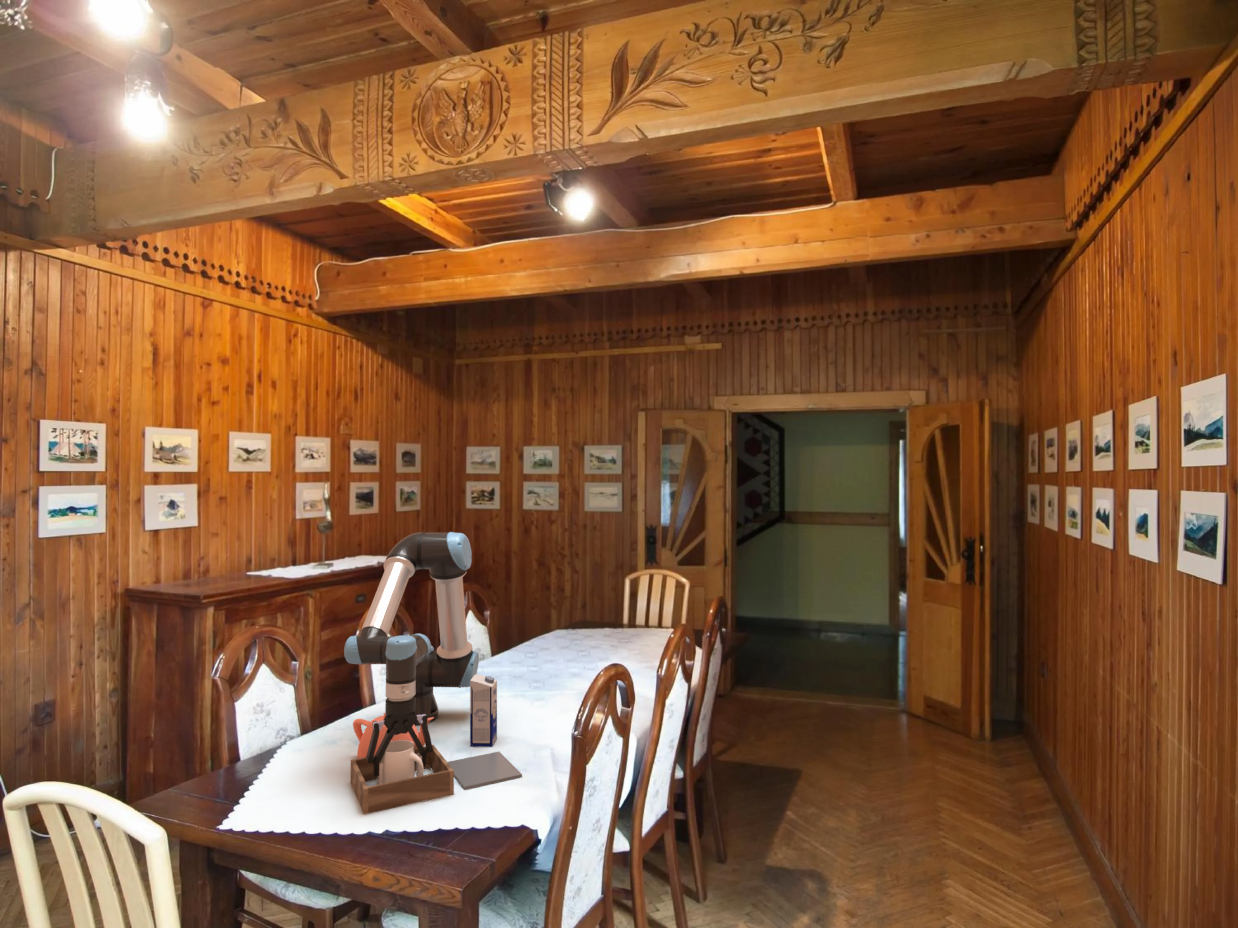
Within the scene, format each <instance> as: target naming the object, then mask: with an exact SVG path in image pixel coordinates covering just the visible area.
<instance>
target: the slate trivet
mask: <svg viewBox="0 0 1238 928" xmlns="http://www.w3.org/2000/svg"><path fill="white" fill-rule="evenodd" d="M447 763H448V764H449V765H450V766H451V768H452V769H453V770H454V780H456V782H457V783H458V785H460V787H461V788H462V789H463V791H465V790H470V789H471V790H472V789H475V788H479V787H484V786H488V785H492V784H493V785H494V784H497V783H498V784H499V783H501V782H503V783H504V782H507V781H511V780H516V779H520V778H523V774H522V773H521V772H520V771H519V770H518V768H516V767H515V766H514V764H512V762H510V761H509V759H507V757H505V756H504V755H503V753H502V752H501V751H494V752H490V753H489V752H488V753H485V754H480V755H475V756H470V757H464V758H461V759H455V760H449V761H447Z"/></svg>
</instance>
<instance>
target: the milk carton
mask: <svg viewBox="0 0 1238 928" xmlns="http://www.w3.org/2000/svg"><path fill="white" fill-rule="evenodd" d="M469 691H470V693H469V695H470V696H469V700H470V701H469V703H470V704H469V715H470V717H469V732H470V733H469V734H470V735H469V747H472V748H473V747H477V748H478V747H481V748H482V747H484V748H488V747H489V748H492V747H493V746H494V745H495V743H496V741H497V739H498V679H495V678H494V677H492V676H489V675H486V676H485V675H482V674H478V673H477V674H475V675H474V676H473V678H472V679H471V680H470V687H469Z"/></svg>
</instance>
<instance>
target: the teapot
mask: <svg viewBox="0 0 1238 928" xmlns="http://www.w3.org/2000/svg"><path fill="white" fill-rule="evenodd" d="M384 718H385V712H384V713H383V715H380V716H378V717H375V718H373V719H372V720H371V721H370V720H367V719H363V718H356V719H354V720H353V723H352V727H353V732H354V734H355V736H356V738H357V740H358V742H359V743H358V747H357V752H356V753H357V759H359V758H364V757H366V756H367V752H368V748H369V744H370V740H371V736H372V732H373V725H372V723H373V721H377V722H378V721H382V720H384ZM433 718H434V717H432V718H428V721H427V726H428V725H429V723H431V722H432V721H431V720H432V719H433ZM430 721H431V722H430ZM419 725H420V726H419V730H418V728H417V725H413V726H412V728H413V730H414V732H415V734H416V735H417V737H418V739H419V741H420V742H421V744H422V746H426V745H425V741H424V736H423V732H422V728H421V724H419ZM362 726H365V727H366V728H365V729H364V732H363V730H362ZM387 729H388V728H387V727H386V726H385V725H383V726H382V729H381V730H380V731H379V737H378V741H377V745H376V749H375V753H374V756H375V754H376V752H377V750H378V748H379V746H380V744H381V742H382V740H383V738H384V736H385V733H386V731H387ZM396 740H408V741H412V742H413V743H414V741H413V739H412V737H411V736H410V734H409V732H407V733H405V734H403V733H401V734H398V735H395V734H394V736H393V738H392V739H391V741H396ZM391 741H390V742H391ZM414 744H415V743H414ZM415 748H417V746H416V745H415Z"/></svg>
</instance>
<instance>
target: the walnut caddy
mask: <svg viewBox="0 0 1238 928" xmlns="http://www.w3.org/2000/svg"><path fill="white" fill-rule="evenodd" d="M424 747H426V745H424V746H423V748H424ZM432 747H433V751H432V752H429V753H427V756H426V765H425V767H424V770H428V769H430V770H431V771H432V772H433V773H428V774H423V775H422V776H417V777H416V776H414V777H412V778H408V779H403V780H398V781H393V782H388V783H383V784H379V785H377V784H375V785H374V784H373V785H367V783H366V782H368V781H374V780H377V777H378V776H376V777H375V775H374V773H373V763H368V761H367V760H366V757H364V758H359V759H358V758H354V759H351V760H350V774H349V775H350V783H349V784H350V785H351V787H352V790H353V792H354V794H355V797H356V799H357V801H358V803H359V806H360V808H361V809H360V810H361V811H362V813H363V815H367V814H370V813H375V812H381V811H385V810H389V809H393V808H398V807H402V806H407V805H412V804H416V803H421V802H425V801H429V800H433V799H437V798H443V797H447V796H451V795H454V793H455V778H454V770H453V769H452V768H451V766H450V765H449V764H448V763H447V762H448V761H447V760H446V758H445V757H444V756H443V754H441V752H440V751H439V750H438V748H437V747H436V746H435V745H434V744H432ZM418 753H420V752H419V750H418V748H415V754H416V755H417V754H418ZM414 772H416V761H415V769H414Z"/></svg>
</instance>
